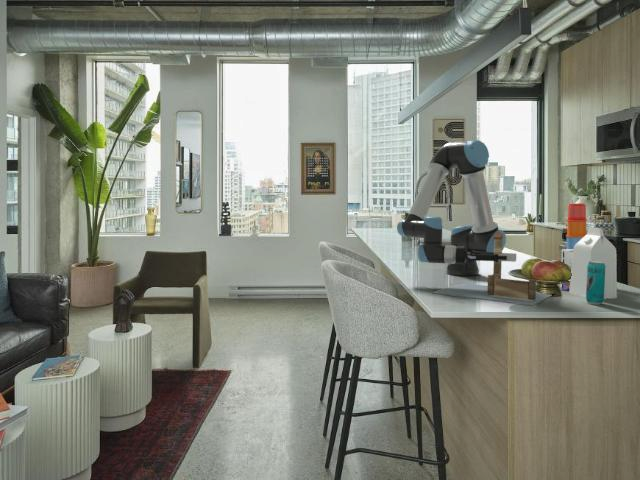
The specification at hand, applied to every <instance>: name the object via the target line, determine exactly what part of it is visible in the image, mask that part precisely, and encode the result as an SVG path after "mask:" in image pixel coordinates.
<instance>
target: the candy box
mask: <svg viewBox="0 0 640 480" xmlns="http://www.w3.org/2000/svg"><path fill="white" fill-rule="evenodd" d="M572 259H573V249H566V248H561V262H563V263H565V264H567V265H568V266H569V267H570V268H571V269H572ZM560 290H561V291H569V290H570V283H563V284H560Z"/></svg>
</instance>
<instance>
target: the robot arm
mask: <svg viewBox="0 0 640 480" xmlns="http://www.w3.org/2000/svg"><path fill="white" fill-rule="evenodd" d="M489 158H490V153H489V150H488V147H487V145H486V144H485V143H484V142H482V141H481V140H479V139H478V140H477V139H475V140H473V139H470V140H469V139H468V140H460V141H450V142H447V143H445V144H444V145H443V146H441V147H440V148H439V149H438V150H437V151H436V153H435V154H434V155H433V157H432V158H431V160H430V161H429V164H428V171H427V173H426V176H425V178H424V180H423V182H422V183H421V185H420V188H419V191H418V193H417V194H416V197H415V199H414V201H413V203H412V205H411V207H410V209H409V212H408V213H407V216H406V218H405V219H401V220H399V221H398V223H397V226H396V230H397V234H398V235H400V236H402V237H405V238H416V239H418V238H419V239H423V244H419V246H418V249H417V258H418V260H419V262H421V263H429V264H447V267H446V274H448V275H451V276H459V277H460V276H461V277H462V276H463V277H467V276H469V277H471V276H478V275H479V274H480V273H479V272H480V271H479V270H480V269H479V265H478V261H479V262H480V261H482V262H483V261H484V262H494V261H496V263H498V261H502V262H516V261H517V253H513V252H512V253H510V252H502V254H499V256H498V254H494V234H495V233H497V232H500V233H502V235H503V239H502V251H503V250H504V248H505V246H506V242H507V235H506V233H505V232H504V231H503V230H502V229H499V226H498V223H497V222H495V221H494V219H493V212H492V208H491V204H490V200H489V195H488V189H487V186H486V181H485V175H484V171H485V170H486V166H487V164H488V162H489ZM452 169H457V170H458V174H459V175H460V176H462V178H463V181H464V186H465V189H466V190H465V191H466V196H467V198H468V204H469V209H470V212H471V217H472V223H473V225H465V226H464V225H462V226H456V227H455V226H454V227H452V228H451V231H450V232H451V233H450V245H443V218H442V217H441V216H427V214H428V212H429V211H430V208H431V206H432V204H433V203H434V200H435V198H436V196H437V194H438V192H439V189H440V188H441V185H442V184H443V180H444V178H445V177H447V176H448V175H449V174H450V171H451V170H452Z"/></svg>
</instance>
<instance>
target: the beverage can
mask: <svg viewBox="0 0 640 480" xmlns="http://www.w3.org/2000/svg"><path fill="white" fill-rule="evenodd" d="M604 263H605V262H603V261H589V263H588V265H587V286H586V298H585V299H586V303H587V304H589V305H596V306H597V305H599V306H600V304H601V305H602V304H603V302H604V300H605V299H604V288H605V268H606V266H605V264H604Z"/></svg>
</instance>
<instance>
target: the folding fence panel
mask: <svg viewBox="0 0 640 480" xmlns="http://www.w3.org/2000/svg"><path fill="white" fill-rule="evenodd" d="M502 239H503V235H502V233H500V232H497V233H495V234H494V254H498V256H499V254H502V253H503V250H502ZM502 262H503V261H498V263H496V261H493V268H492V271H493V273H492V275H495V279H496V278H500V279H502ZM494 292H495V280H494Z"/></svg>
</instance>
